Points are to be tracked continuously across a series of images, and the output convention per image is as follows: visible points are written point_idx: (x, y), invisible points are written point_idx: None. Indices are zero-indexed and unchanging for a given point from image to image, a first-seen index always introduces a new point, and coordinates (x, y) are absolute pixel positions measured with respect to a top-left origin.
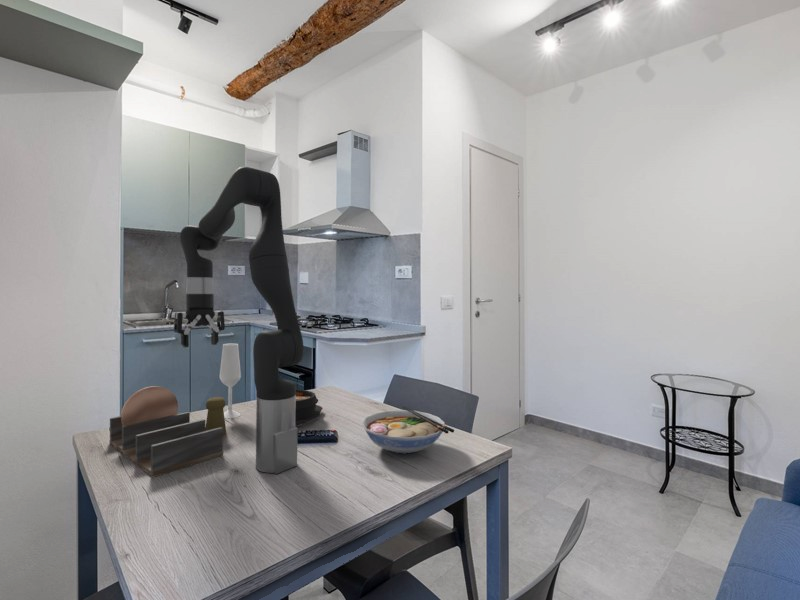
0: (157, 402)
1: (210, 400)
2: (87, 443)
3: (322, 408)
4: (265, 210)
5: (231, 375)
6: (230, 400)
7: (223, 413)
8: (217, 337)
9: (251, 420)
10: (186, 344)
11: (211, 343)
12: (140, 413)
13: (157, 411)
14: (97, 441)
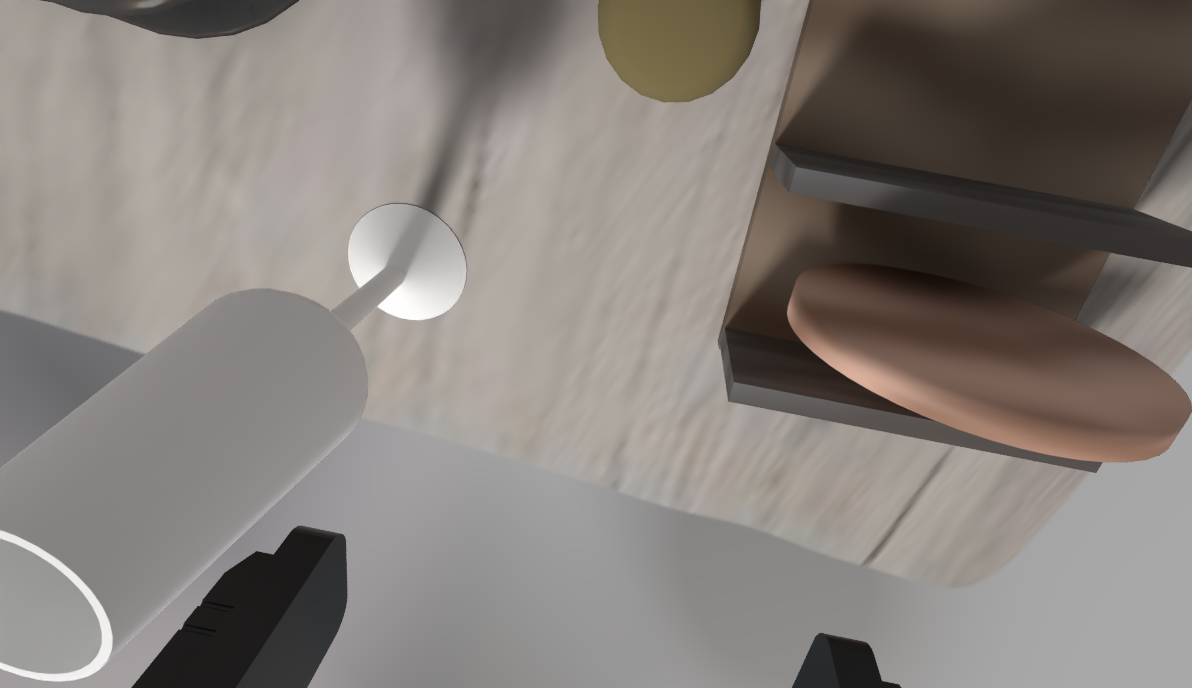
0: (960, 346)
1: (742, 6)
2: (1055, 474)
3: None
4: None
5: (291, 319)
6: (370, 288)
7: None
8: (195, 638)
9: (372, 66)
10: (877, 678)
11: (340, 621)
12: (1046, 344)
13: (934, 319)
14: (1018, 462)
